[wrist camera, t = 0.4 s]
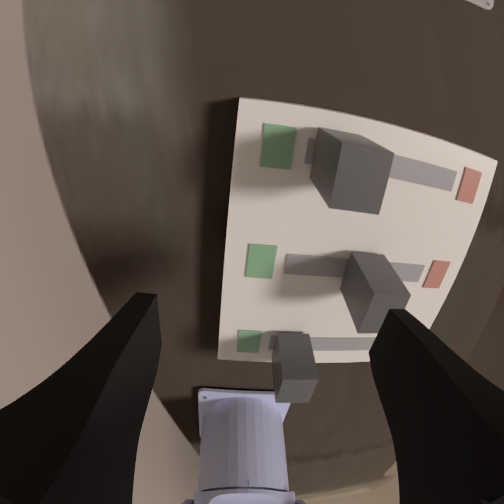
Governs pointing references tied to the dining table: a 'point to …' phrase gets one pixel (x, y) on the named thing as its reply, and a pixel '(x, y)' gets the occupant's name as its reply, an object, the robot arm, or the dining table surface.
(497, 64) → the dining table surface
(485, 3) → the emergency button
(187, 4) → the dining table surface
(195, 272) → the dining table surface
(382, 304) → the block
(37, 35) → the dining table surface
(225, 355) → the breaker board
